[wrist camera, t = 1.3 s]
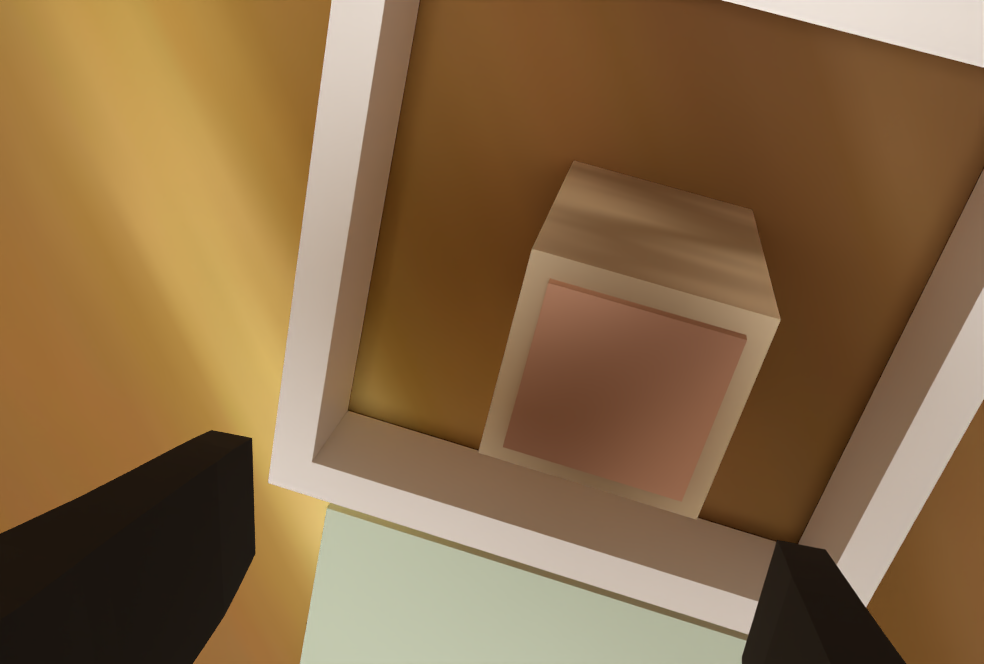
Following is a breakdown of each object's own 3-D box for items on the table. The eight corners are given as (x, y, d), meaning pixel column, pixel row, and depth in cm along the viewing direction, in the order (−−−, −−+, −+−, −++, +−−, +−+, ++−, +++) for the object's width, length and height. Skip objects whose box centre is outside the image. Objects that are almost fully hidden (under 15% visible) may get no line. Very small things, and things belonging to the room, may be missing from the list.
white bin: (1112, 32, 16) (1182, 47, 14) (819, 589, 22) (835, 662, 20) (395, -149, 17) (353, -161, 15) (307, 430, 23) (268, 482, 21)
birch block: (752, 209, 19) (782, 324, 13) (692, 367, 21) (696, 526, 15) (574, 160, 19) (529, 253, 14) (530, 319, 21) (475, 459, 15)
